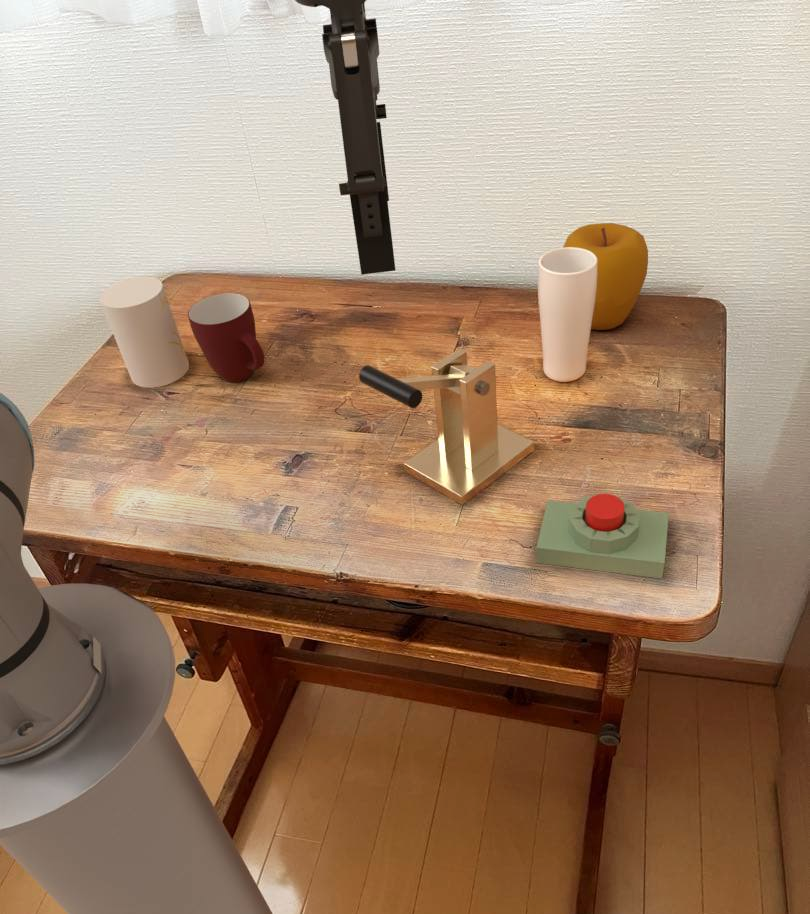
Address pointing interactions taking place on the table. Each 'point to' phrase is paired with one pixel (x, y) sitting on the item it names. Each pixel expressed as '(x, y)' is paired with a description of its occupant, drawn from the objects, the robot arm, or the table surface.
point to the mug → (227, 335)
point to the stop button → (604, 512)
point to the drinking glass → (566, 310)
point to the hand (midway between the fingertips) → (376, 233)
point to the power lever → (412, 383)
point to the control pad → (603, 540)
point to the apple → (613, 269)
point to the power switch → (467, 436)
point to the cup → (145, 331)
